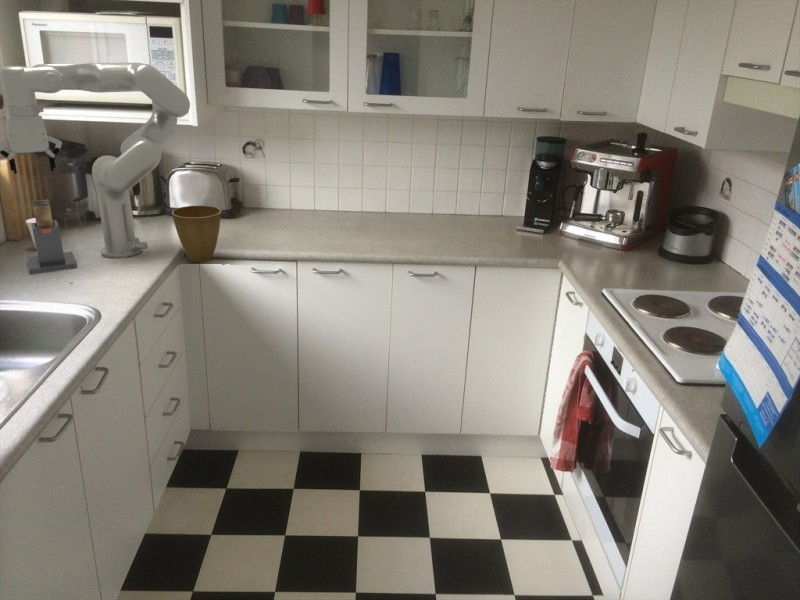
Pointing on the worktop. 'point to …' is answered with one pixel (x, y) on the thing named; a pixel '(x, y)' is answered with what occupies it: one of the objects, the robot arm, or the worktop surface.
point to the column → (42, 213)
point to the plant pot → (198, 230)
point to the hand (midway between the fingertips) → (34, 171)
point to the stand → (49, 251)
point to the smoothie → (31, 227)
